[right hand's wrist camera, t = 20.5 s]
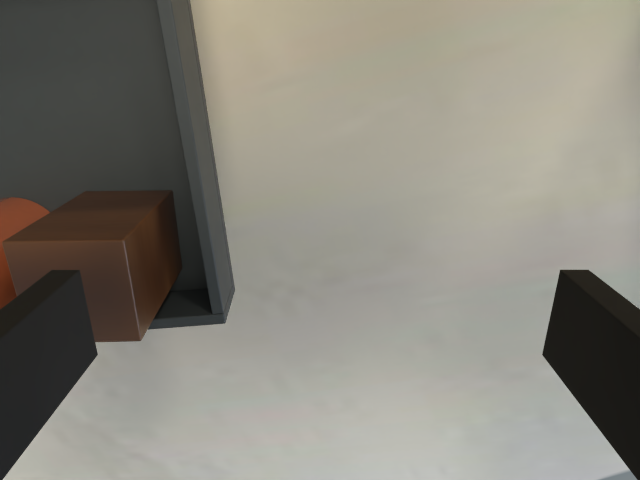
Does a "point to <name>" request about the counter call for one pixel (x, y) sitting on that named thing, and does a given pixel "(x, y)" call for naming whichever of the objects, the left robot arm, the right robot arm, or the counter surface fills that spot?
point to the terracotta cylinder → (6, 221)
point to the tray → (116, 126)
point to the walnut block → (106, 256)
